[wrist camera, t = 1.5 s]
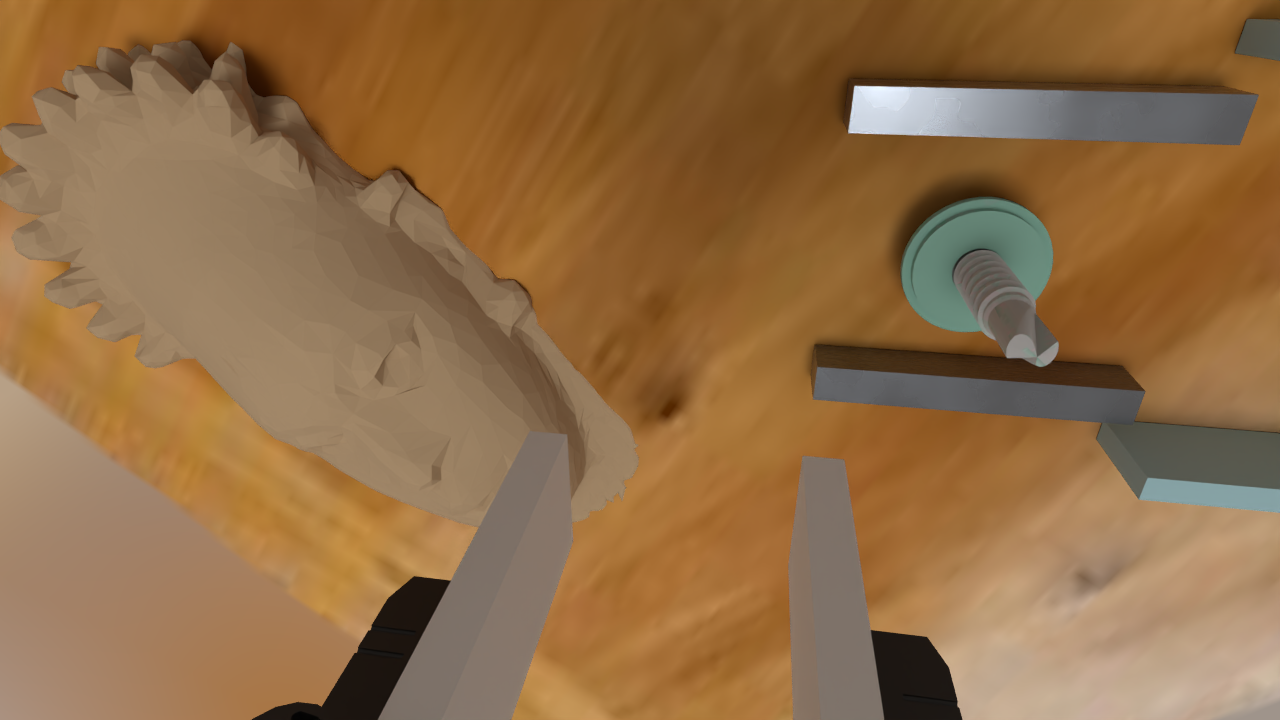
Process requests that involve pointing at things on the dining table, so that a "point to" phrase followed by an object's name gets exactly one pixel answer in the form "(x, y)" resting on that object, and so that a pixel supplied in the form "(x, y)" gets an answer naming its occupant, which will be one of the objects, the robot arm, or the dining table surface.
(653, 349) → the dining table surface
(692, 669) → the dining table surface
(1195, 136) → the slot
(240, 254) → the mask
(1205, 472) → the bracket
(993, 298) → the screw
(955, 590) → the dining table surface
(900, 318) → the dining table surface
